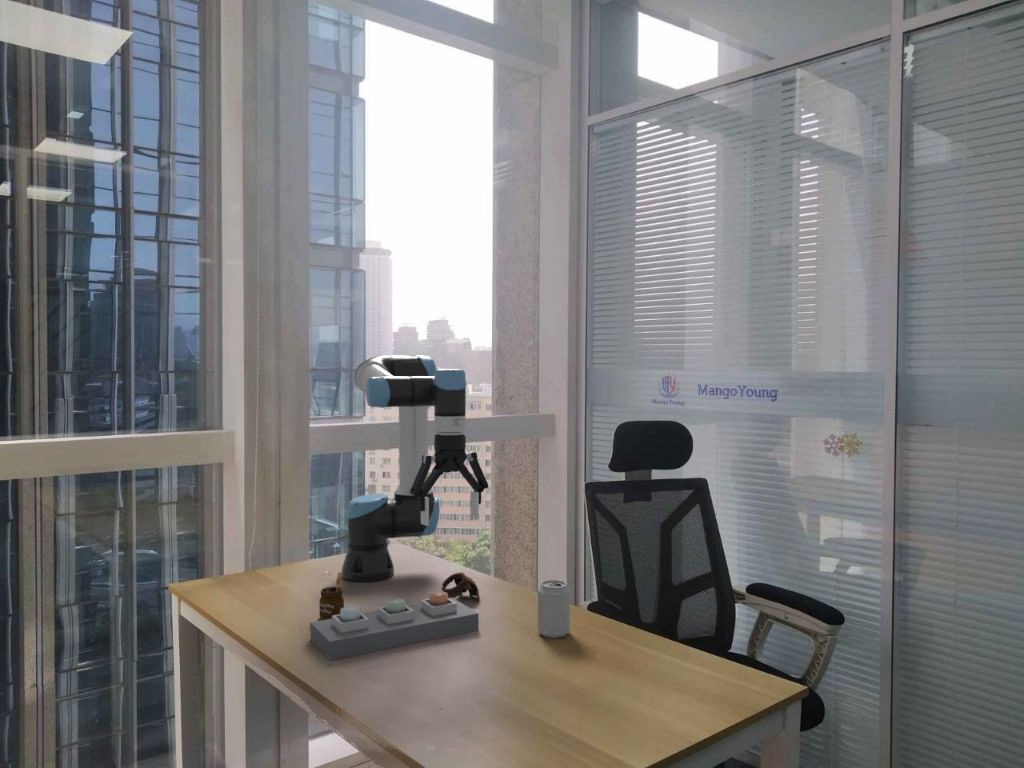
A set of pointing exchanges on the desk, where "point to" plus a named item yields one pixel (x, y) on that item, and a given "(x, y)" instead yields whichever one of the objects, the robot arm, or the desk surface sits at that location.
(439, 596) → the terracotta button
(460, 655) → the desk surface
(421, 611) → the console
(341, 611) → the pale blue button
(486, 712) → the desk surface
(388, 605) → the sage button
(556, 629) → the can
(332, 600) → the utensil holder
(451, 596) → the dark brown curved piece
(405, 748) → the desk surface
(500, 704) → the desk surface
